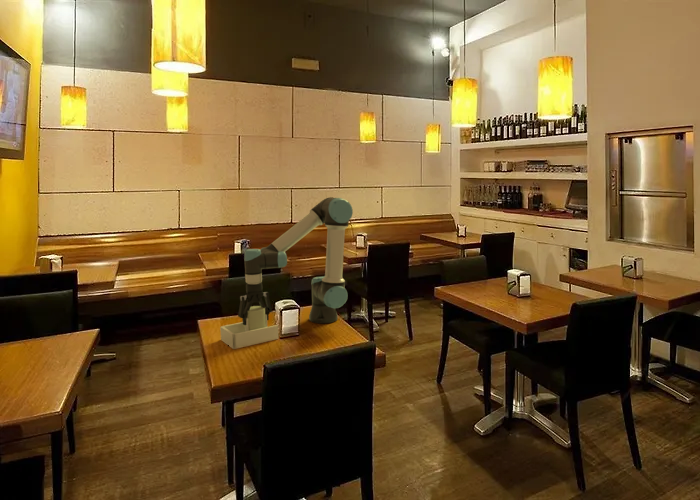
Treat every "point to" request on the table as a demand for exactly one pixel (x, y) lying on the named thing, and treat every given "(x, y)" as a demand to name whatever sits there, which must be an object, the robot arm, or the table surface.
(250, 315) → the can
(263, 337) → the open box
